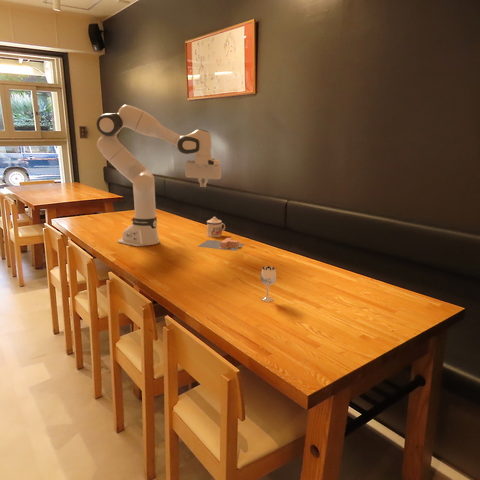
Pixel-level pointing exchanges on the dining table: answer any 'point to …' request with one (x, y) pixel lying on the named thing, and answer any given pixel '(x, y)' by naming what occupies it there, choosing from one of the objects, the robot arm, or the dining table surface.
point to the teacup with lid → (214, 227)
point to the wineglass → (268, 280)
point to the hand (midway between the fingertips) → (203, 186)
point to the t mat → (218, 245)
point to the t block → (229, 243)
